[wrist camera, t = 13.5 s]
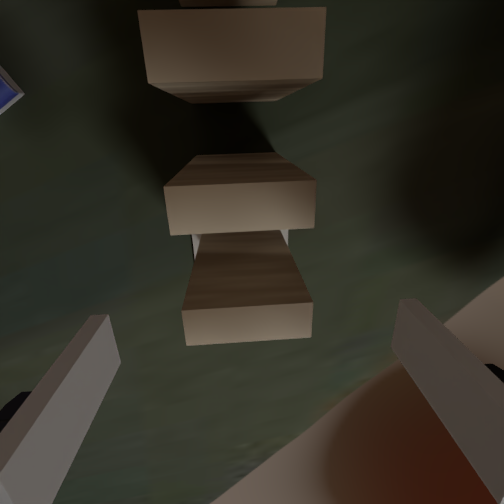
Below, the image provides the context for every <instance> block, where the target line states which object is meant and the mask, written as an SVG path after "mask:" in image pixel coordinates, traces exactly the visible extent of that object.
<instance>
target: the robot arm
mask: <svg viewBox="0 0 504 504" xmlns="http://www.w3.org/2000/svg"><path fill="white" fill-rule="evenodd" d="M391 348H392V350H393V351H394V353H395V354H396V356H397V357H398V359H399V360H400V362H401V363H402V364H403V366H404V367H405V369H406V370H407V372H408V373H409V375H410V376H411V378H412V379H413V380H414V382H415V383H416V385H417V386H418V388H419V389H420V391H421V392H422V394H423V395H424V396H425V398H426V399H427V401H428V402H429V404H430V405H431V407H432V408H433V410H434V411H435V412H436V414H437V415H438V417H439V418H440V420H441V421H442V423H443V424H444V426H445V427H446V429H447V430H448V431H449V433H450V434H451V436H452V437H453V439H454V440H455V441H456V443H457V444H458V446H459V448H460V449H461V450H462V452H463V453H464V455H465V456H466V458H467V459H468V460H469V462H470V463H471V465H472V466H473V468H474V469H475V471H476V472H477V474H478V475H479V477H480V478H481V480H482V481H483V482H484V484H485V485H486V487H487V488H488V490H489V491H490V493H491V494H492V496H493V497H494V499H495V500H496V501H497V503H498V504H504V370H502V369H500V368H499V367H497V366H495V365H494V364H483V363H482V362H481V361H480V360H479V359H478V358H477V357H476V356H475V355H474V354H473V353H472V352H471V351H470V350H469V349H468V348H467V347H466V346H465V345H463V343H462V342H461V341H459V340H458V338H456V337H455V336H454V335H453V334H452V333H451V332H450V331H449V330H448V329H447V328H446V327H445V326H444V325H443V324H442V323H441V322H440V321H439V320H438V319H437V318H436V317H435V316H434V315H433V314H432V313H431V312H430V311H429V310H428V309H427V308H426V307H425V306H424V305H423V304H422V303H421V302H420V301H419V300H417V299H416V298H414V299H400V301H399V306H398V312H397V317H396V322H395V327H394V332H393V338H392V343H391ZM120 363H121V361H120V357H119V353H118V349H117V346H116V342H115V338H114V334H113V330H112V327H111V323H110V319H109V315H108V314H105V315H90V317H89V318H88V319H87V321H86V322H85V323H84V325H83V326H82V327H81V328H80V330H79V331H78V332H77V334H76V335H75V336H74V338H73V339H72V340H71V341H70V343H69V344H68V345H67V347H66V348H65V349H64V351H63V352H62V353H61V355H60V356H59V357H58V358H57V360H56V361H55V362H54V364H53V365H52V366H51V368H50V369H49V370H48V371H47V373H46V374H45V375H44V377H43V378H42V379H41V381H40V382H39V383H38V384H37V386H36V387H35V388H34V390H33V391H31V392H21V393H20V394H19V395H17V396H16V397H15V398H13V399H12V400H11V401H10V402H8V403H7V404H6V405H5V406H4V407H3V408H2V409H1V411H0V504H52V502H53V500H54V498H55V496H56V494H57V492H58V490H59V488H60V486H61V484H62V482H63V480H64V478H65V476H66V474H67V472H68V470H69V467H70V465H71V463H72V461H73V459H74V457H75V455H76V453H77V451H78V449H79V447H80V445H81V443H82V441H83V439H84V437H85V435H86V433H87V431H88V429H89V427H90V425H91V423H92V421H93V418H94V416H95V414H96V412H97V410H98V408H99V406H100V404H101V402H102V400H103V398H104V396H105V394H106V392H107V390H108V388H109V386H110V384H111V382H112V380H113V378H114V376H115V374H116V371H117V369H118V367H119V365H120Z"/></svg>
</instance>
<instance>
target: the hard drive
mask: <svg viewBox="0 0 504 504" xmlns="http://www.w3.org/2000/svg"><path fill="white" fill-rule="evenodd" d="M23 95H24V92H23V91H22V90H21V89H20V88H19V86H18V85H17V84H16V83H15V82H14V81H13V79H12V78H11V77H10V76H9V75H8V74H7V72H6V71H5V70H4V69H3V68H2V67H1V65H0V115H1V114H2V113H3V112H4V111H5V110H7V109H8V108H9V107H10V106H11V105H12V104H14V103H15V102H16V101H17V100H18V99H20V98H21V97H22V96H23Z"/></svg>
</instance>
